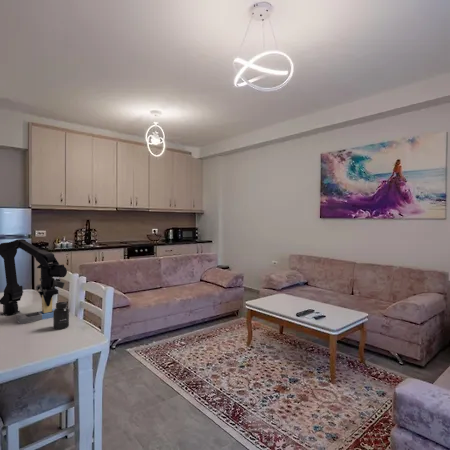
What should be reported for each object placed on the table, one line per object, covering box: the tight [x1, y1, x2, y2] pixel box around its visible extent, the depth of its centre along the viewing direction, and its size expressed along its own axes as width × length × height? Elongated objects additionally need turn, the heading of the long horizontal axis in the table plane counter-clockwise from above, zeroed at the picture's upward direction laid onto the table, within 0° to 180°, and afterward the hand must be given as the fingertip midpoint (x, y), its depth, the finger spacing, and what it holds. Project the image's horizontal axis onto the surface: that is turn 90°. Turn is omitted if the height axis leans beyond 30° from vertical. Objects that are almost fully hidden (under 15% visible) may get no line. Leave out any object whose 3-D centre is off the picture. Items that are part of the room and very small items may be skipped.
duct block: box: [16, 307, 56, 325], centre depth 166 cm, size 19×8×2 cm, turn 135°
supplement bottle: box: [52, 301, 70, 330], centre depth 152 cm, size 7×7×12 cm
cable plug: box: [41, 295, 53, 313], centre depth 168 cm, size 4×4×9 cm
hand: (47, 305), depth 168 cm, fingers closed on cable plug, 4 cm apart
